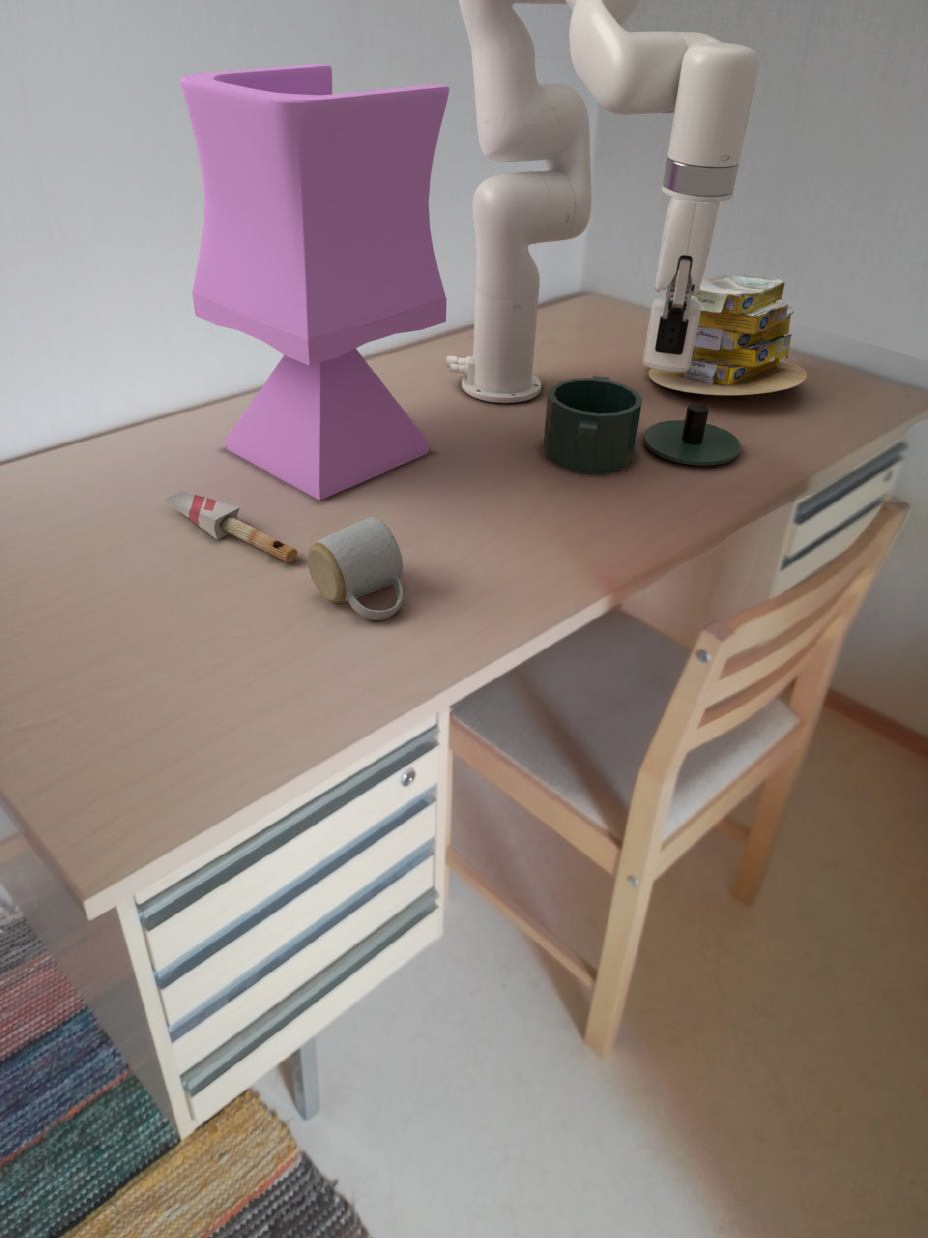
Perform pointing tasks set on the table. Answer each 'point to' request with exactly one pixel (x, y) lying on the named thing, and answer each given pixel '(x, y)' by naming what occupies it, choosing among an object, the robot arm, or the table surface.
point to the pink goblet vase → (317, 258)
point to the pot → (591, 425)
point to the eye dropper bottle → (650, 355)
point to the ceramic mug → (357, 565)
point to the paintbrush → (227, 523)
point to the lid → (692, 439)
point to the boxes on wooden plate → (738, 340)
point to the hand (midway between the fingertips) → (669, 344)
